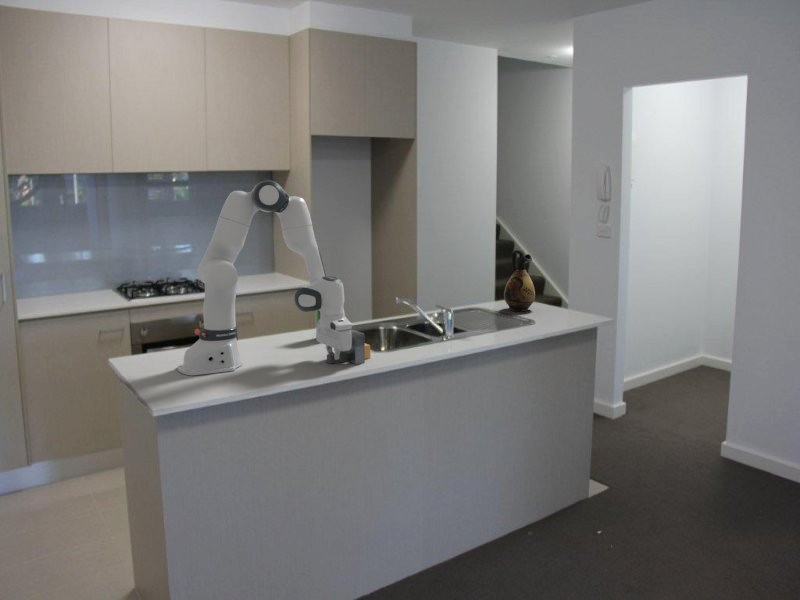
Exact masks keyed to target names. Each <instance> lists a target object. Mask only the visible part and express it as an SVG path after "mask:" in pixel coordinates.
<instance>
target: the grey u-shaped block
mask: <svg viewBox="0 0 800 600" xmlns="http://www.w3.org/2000/svg"><path fill="white" fill-rule="evenodd" d="M350 330H351V334H352V346H351V349H350V350H349V351H350V361H349V363H351V364H353V365H359V364H365V363H366V362H365V361H366V359H365V343H366V342H365V333H364V332H362V331H358V330H356V329H350ZM341 352H346V351H341Z"/></svg>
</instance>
